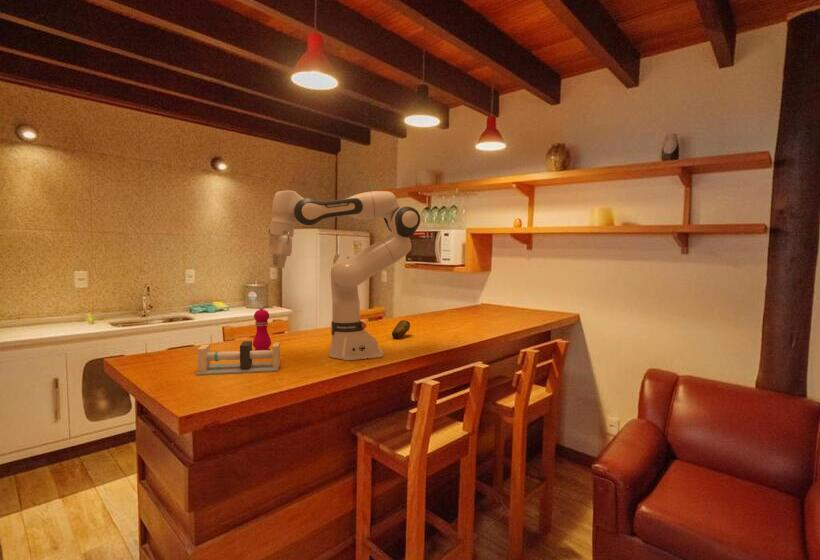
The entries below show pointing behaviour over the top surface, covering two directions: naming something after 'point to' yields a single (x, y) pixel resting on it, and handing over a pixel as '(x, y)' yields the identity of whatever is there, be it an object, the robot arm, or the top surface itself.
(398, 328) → the potato
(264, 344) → the pepper mill
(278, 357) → the pipe rig
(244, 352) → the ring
